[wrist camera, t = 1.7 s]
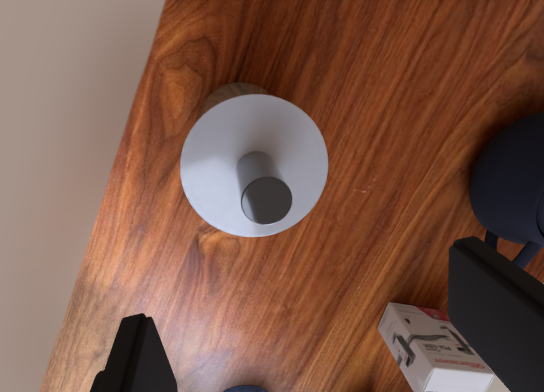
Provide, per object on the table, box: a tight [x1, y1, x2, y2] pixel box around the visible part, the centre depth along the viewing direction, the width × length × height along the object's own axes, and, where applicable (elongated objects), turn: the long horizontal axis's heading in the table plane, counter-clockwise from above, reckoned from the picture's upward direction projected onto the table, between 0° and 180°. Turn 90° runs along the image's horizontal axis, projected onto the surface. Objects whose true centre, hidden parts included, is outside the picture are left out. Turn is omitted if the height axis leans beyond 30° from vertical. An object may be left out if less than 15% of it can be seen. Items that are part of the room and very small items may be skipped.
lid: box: [180, 94, 328, 237], centre depth 23 cm, size 10×10×7 cm
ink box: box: [377, 302, 495, 392], centre depth 47 cm, size 9×5×12 cm, turn 75°
